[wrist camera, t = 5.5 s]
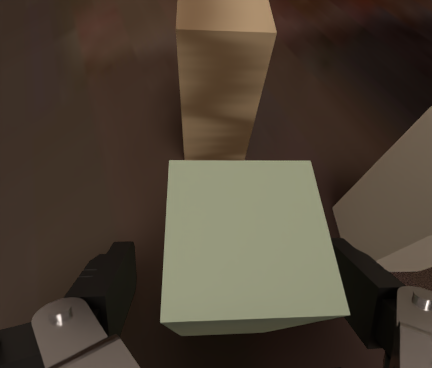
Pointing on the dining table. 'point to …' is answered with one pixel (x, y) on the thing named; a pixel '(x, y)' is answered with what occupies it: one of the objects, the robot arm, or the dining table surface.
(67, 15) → the dining table surface
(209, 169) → the sage block
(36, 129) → the dining table surface
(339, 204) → the cream block
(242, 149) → the oak block
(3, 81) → the dining table surface
